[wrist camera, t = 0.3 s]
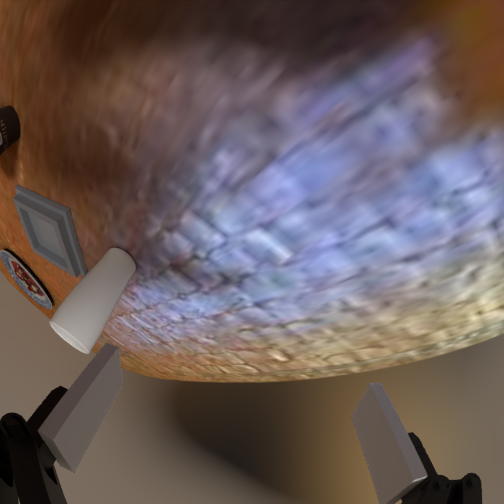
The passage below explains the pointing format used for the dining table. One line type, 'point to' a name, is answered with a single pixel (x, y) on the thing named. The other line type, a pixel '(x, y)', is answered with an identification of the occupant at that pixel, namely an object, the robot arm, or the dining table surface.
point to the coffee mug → (8, 127)
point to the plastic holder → (50, 231)
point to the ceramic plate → (25, 279)
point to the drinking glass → (93, 300)
